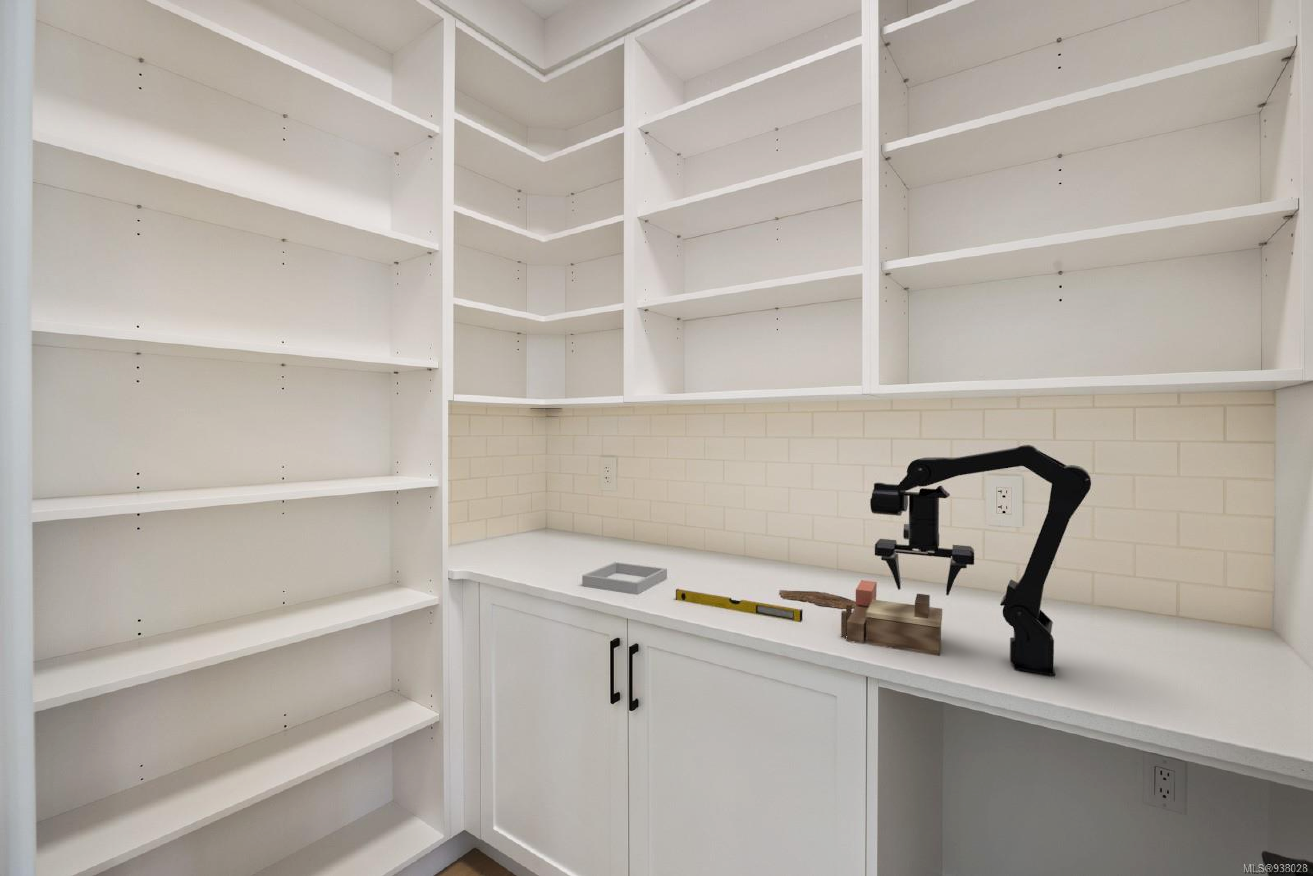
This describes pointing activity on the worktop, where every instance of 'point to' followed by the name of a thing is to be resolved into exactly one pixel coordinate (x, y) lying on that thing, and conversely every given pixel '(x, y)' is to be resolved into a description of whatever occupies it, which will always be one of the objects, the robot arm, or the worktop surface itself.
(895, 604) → the lid
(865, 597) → the pink rectangular block
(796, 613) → the spirit level
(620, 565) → the parts corral
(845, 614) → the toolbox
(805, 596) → the wooden fragment
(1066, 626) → the worktop surface
